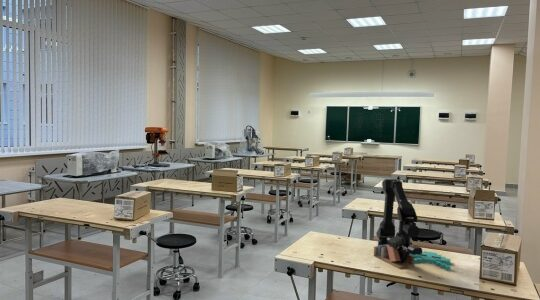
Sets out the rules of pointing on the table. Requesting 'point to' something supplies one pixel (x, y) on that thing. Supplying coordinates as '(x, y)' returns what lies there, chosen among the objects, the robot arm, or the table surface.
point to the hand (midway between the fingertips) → (402, 262)
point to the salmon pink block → (393, 254)
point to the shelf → (383, 254)
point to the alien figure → (432, 259)
